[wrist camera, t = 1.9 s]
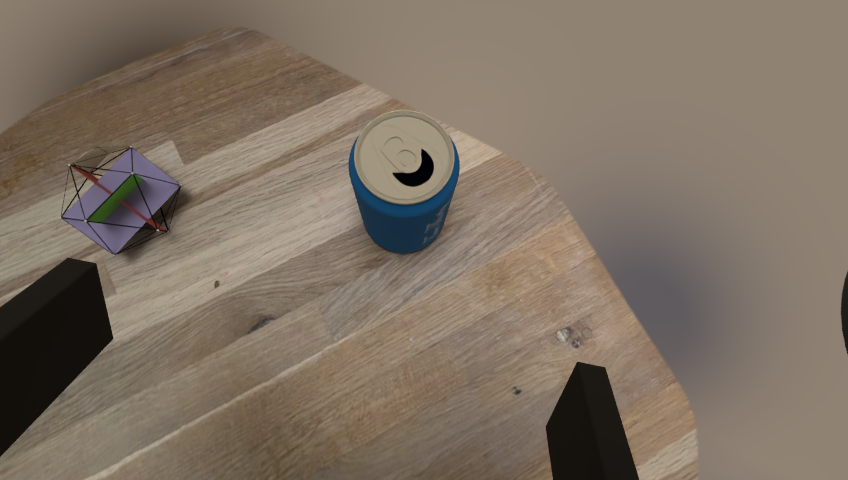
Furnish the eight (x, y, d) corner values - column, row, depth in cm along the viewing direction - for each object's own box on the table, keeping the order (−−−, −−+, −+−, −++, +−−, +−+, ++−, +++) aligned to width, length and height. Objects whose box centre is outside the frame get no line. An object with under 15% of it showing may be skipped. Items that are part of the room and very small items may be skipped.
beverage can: (400, 271, 37) (399, 235, 25) (346, 212, 38) (321, 150, 26) (460, 219, 38) (486, 160, 27) (407, 162, 39) (409, 81, 28)
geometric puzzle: (217, 211, 35) (120, 136, 30) (150, 284, 34) (34, 220, 28) (185, 186, 40) (96, 118, 34) (125, 250, 39) (22, 189, 33)
